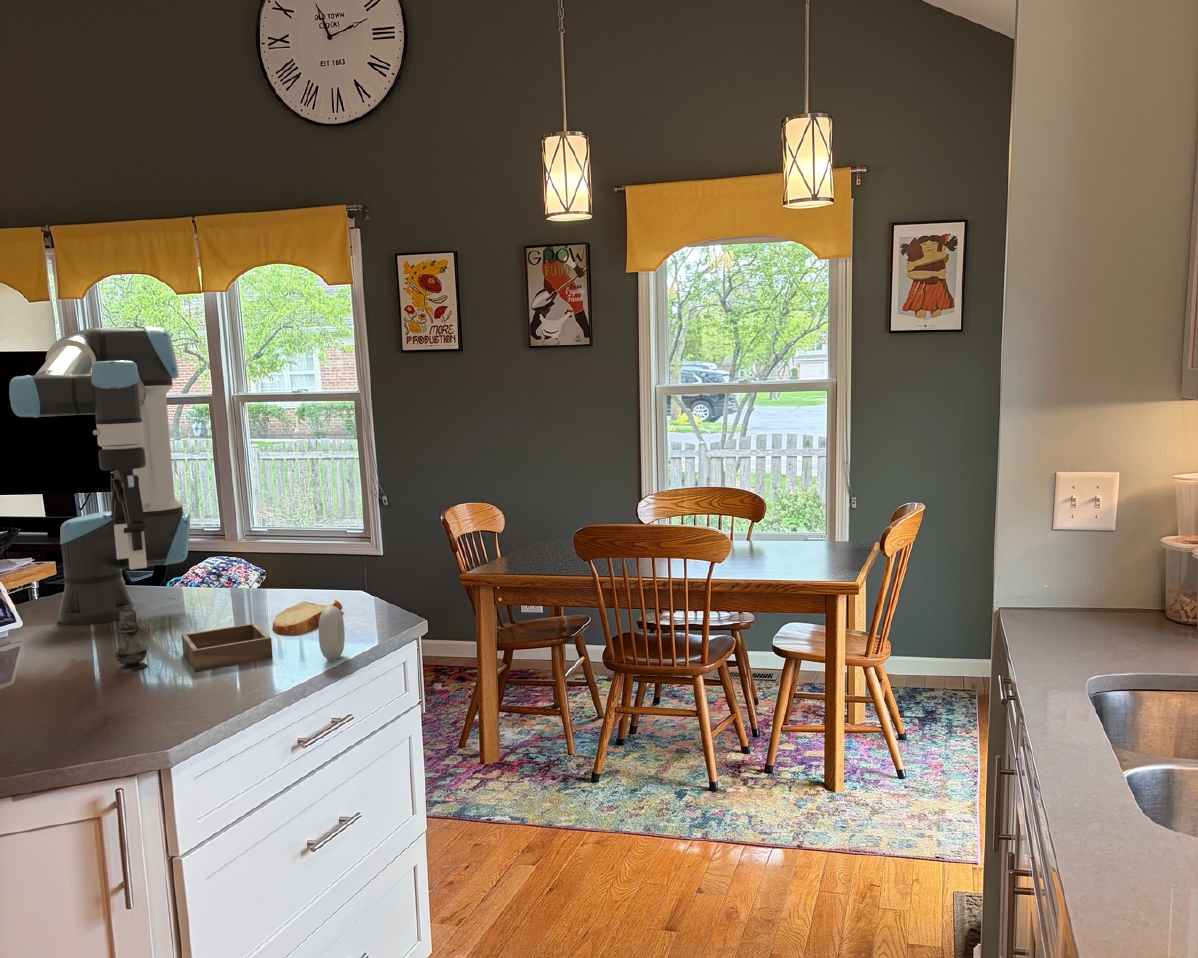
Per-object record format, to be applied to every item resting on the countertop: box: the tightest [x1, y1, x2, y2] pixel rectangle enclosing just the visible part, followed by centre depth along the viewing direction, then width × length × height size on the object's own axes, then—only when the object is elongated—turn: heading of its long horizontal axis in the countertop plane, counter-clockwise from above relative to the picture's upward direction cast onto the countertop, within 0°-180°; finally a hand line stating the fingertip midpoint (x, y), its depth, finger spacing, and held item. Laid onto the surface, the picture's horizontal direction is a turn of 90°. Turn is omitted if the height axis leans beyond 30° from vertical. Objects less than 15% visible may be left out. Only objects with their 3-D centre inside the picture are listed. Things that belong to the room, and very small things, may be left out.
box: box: [181, 622, 274, 673], centre depth 183 cm, size 14×14×4 cm
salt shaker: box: [112, 605, 149, 674], centre depth 177 cm, size 6×6×12 cm
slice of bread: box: [271, 599, 343, 636], centre depth 208 cm, size 18×18×4 cm
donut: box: [318, 606, 346, 662], centre depth 179 cm, size 10×4×10 cm, turn 5°
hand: (131, 563), depth 177 cm, fingers open, 13 cm apart
